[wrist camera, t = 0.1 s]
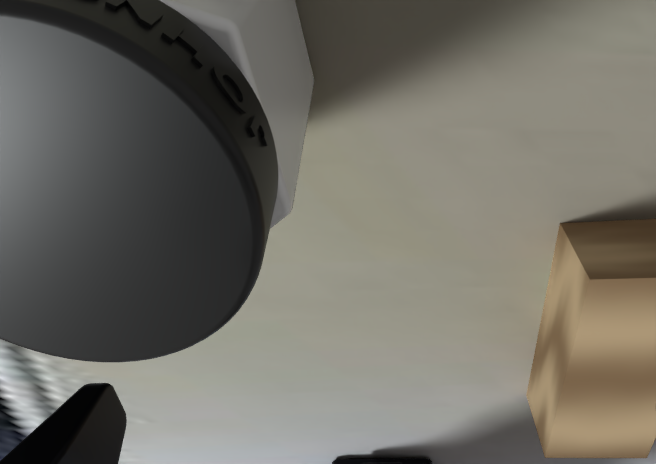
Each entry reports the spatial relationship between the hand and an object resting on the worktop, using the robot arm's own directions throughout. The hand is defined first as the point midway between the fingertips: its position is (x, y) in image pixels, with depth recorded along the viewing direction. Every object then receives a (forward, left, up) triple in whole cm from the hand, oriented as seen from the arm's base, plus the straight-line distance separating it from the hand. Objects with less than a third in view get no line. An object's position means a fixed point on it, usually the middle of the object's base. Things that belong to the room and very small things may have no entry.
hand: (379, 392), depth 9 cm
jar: (+2, +6, -15) cm, 16 cm away
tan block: (-13, -12, -15) cm, 23 cm away
